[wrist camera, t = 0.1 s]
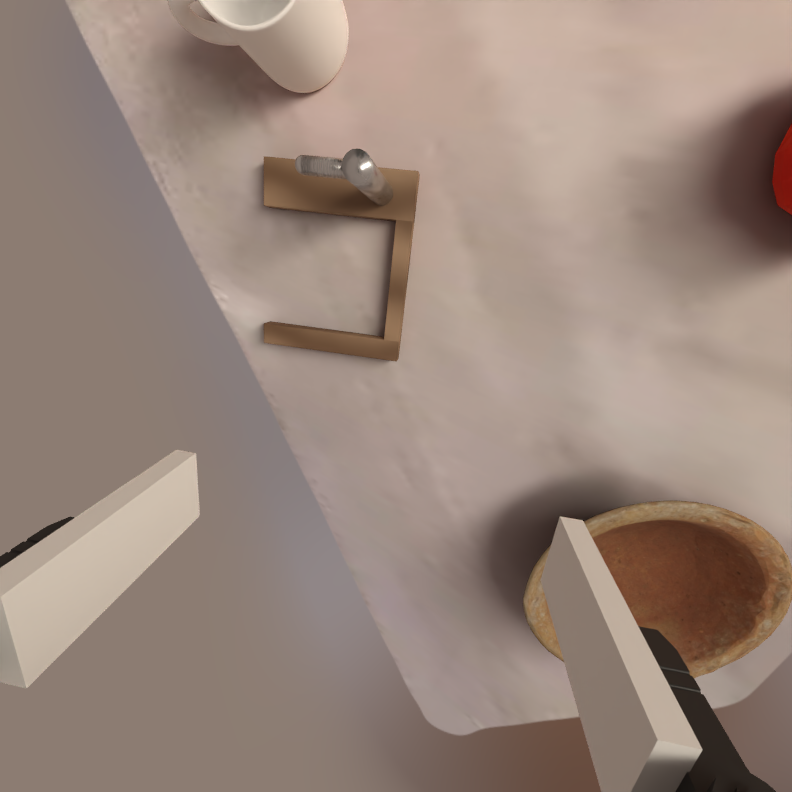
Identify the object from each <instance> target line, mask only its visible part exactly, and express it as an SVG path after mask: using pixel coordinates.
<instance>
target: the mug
mask: <svg viewBox="0 0 792 792" xmlns="http://www.w3.org/2000/svg"><path fill="white" fill-rule="evenodd" d="M194 1H196V0H168V5H169V7H170V10H171V12H172V14H173V16H174V17H175V19H176V20H177V21H178V22H179V24H180V25H181V26H182V27H183V28H184V29H185V30H187V31H188V32H189V33H191V34H192V35H194V36H196V37H198V38H200V39H202V40H204V41H207V42H209V43H213V44H217V45H223V46H238V45H239V46H240V47H241V48H242V49H243V50H244V51H245V52H246V53H247V54H248V55H249V56H250V57H251V58H252V59H253V60H254V61H255V62H256V63H257V64H258V66H259V67H260V68H261V69H262V70H263V71H264V72H265V73H266V74H267V75H268V76H269V77H270V78H271V79H272V80H274V81H275V82H276V83H277V84H278V85H280V86H282V87H283V88H285V89H287V90H290V91H293V92H297V93H309V92H313V91H316V90H319V89H321V88H322V87H324V86H326V85H327V84H328V83H329V82H330V81H331V80H332V79H333V78H334V77H335V76H336V74H337V73H338V71H339V70H340V68H341V66H342V64H343V61H344V59H345V56H346V52H347V47H348V37H349V32H348V21H347V15H346V11H345V8H344V4H343V2H342V0H198V1H199V2H200V4H201V5H202V6H203V8H204V9H205V10H206V11H207V12H208V13H209V14H210V15H211V16H212V17H213V18H214V20H215V21H216V22H212V21H208V20H206V19H203V18H201V17H200V16H198V15H197V14H195V13H194V12H193V11H192V10H191V9H190V7H189V5H190V4H191V3H192V2H194Z"/></svg>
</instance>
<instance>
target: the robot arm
mask: <svg viewBox="0 0 792 792" xmlns="http://www.w3.org/2000/svg"><path fill="white" fill-rule="evenodd" d="M199 513H200V512H199V497H198V479H197V462H196V453H193V452H187V451H181V450H175V451H174V452H172V453H171V454H169V455H168V456H166V457H165V458H163V459H162V460H161V461H159V462H157V463H156V464H155V465H153V466H151V467H150V468H148V469H147V470H145V471H144V472H143V473H141V474H140V475H138V476H136V477H135V478H134V479H132V480H131V481H129V482H128V483H126V484H125V485H123V486H122V487H120V488H119V489H117V490H116V491H114V492H113V493H111V494H110V495H108V496H107V497H105V498H104V499H102V500H101V501H99V502H98V503H96V504H95V505H93V506H92V507H90V508H89V509H87V510H86V511H85V512H83V513H81V514H80V515H78V516H77V517H75V518H74V517H68V518H66V519H63V520H61V521H58V522H56V523H54V524H51V525H49V526H47V527H45V528H44V529H42V530H40V531H39V532H37V533H36V534H34V535H33V536H31V537H30V538H28V539H27V541H26V542H22V543H20V544H19V545H17V546H16V547H14V548H13V549H11V551H10V552H9V553H8V552H6V553H5V554H3V555H2V556H0V682H2V683H6V684H11V685H15V686H19V687H23V688H27V687H28V686H29V685H30V684H31V683H32V682H33V681H34V680H35V679H36V678H37V677H38V676H39V675H40V674H41V673H42V672H43V671H44V670H45V669H46V668H47V667H48V666H49V665H50V664H51V663H52V662H53V661H54V660H55V659H56V658H57V657H58V656H59V655H60V654H61V653H63V652H64V650H66V648H67V647H69V646H70V645H71V643H73V641H74V640H76V639H77V637H79V635H81V633H82V632H84V630H86V629H87V628H88V627H89V626H90V624H92V623H93V622H94V621H95V620H96V619H97V618H98V616H100V615H101V613H103V612H104V610H106V608H108V607H109V606H110V605H111V604H112V603H113V602H114V601H115V599H116V598H118V597H119V595H121V594H122V592H124V591H125V590H126V589H127V588H128V587H129V586H130V585H131V584H132V583H133V582H134V580H136V579H137V578H138V577H139V576H140V575H141V574H142V573H143V572H144V571H145V569H147V567H149V566H150V565H151V564H152V563H153V562H154V561H155V560H156V559H157V558H158V557H159V556H160V555H161V554H162V553H163V552H164V551H165V550H166V549H167V548H168V547H169V546H170V545H171V544H172V543H173V542H174V541H175V540H176V539H177V538H178V537H179V536H180V535H181V534H182V533H183V532H184V531H185V530H186V529H187V528H188V527H189V526H190V525H191V524H192V523H193V522H194V521H195V520H196V519H197V518H198V517H199V516H200V514H199ZM541 583H542V587H543V590H544V594H545V597H546V601H547V604H548V608H549V611H550V615H551V618H552V621H553V625H554V628H555V632H556V635H557V639H558V642H559V646H560V649H561V653H562V656H563V660H564V663H565V667H566V670H567V674H568V677H569V680H570V684H571V687H572V691H573V694H574V698H575V701H576V705H577V708H578V712H579V715H580V719H581V722H582V726H583V729H584V732H585V736H586V740H587V743H588V746H589V750H590V753H591V757H592V760H593V764H594V767H595V771H596V774H597V778H598V781H599V784H600V788H601V791H602V792H776V791H775V790H774V789H773V788H771V787H770V786H769V785H768V784H767V783H765V782H764V781H762V780H761V779H759V778H757V777H756V776H754V775H753V774H751V773H750V772H749V770H748V769H747V768H746V766H745V764H744V762H743V761H742V759H741V757H740V756H739V754H738V752H737V751H736V749H735V747H734V746H733V744H732V742H731V740H730V739H729V737H728V736H727V734H726V732H725V730H724V729H723V727H722V725H721V724H720V722H719V720H718V718H717V717H716V715H715V713H714V712H713V710H712V708H711V707H710V705H709V703H708V702H707V700H706V698H705V696H704V695H703V694H701V692H700V688H699V686H698V685H697V683H696V681H695V680H694V678H693V676H690V671H689V669H688V668H687V666H686V664H685V663H684V661H683V659H682V658H681V656H680V654H679V653H678V651H677V649H676V648H675V647H674V646H673V645H672V644H671V643H670V642H669V641H668V640H667V639H666V638H665V637H664V636H663V635H662V634H661V633H660V632H659V631H658V630H656V629H650V628H645V627H640V626H638V625H637V623H636V621H635V619H634V617H633V615H632V613H631V611H630V610H629V608H628V606H627V604H626V602H625V600H624V598H623V596H622V594H621V592H620V590H619V589H618V587H617V585H616V583H615V581H614V579H613V577H612V575H611V573H610V571H609V569H608V567H607V566H606V564H605V562H604V560H603V558H602V556H601V554H600V552H599V550H598V548H597V546H596V544H595V543H594V541H593V539H592V537H591V535H590V533H589V531H588V529H587V527H586V525H585V523H584V521H583V520H578V519H572V518H566V517H561V516H560V517H559V521H558V524H557V527H556V530H555V534H554V537H553V540H552V544H551V547H550V550H549V554H548V557H547V560H546V564H545V567H544V570H543V573H542V577H541Z"/></svg>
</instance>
